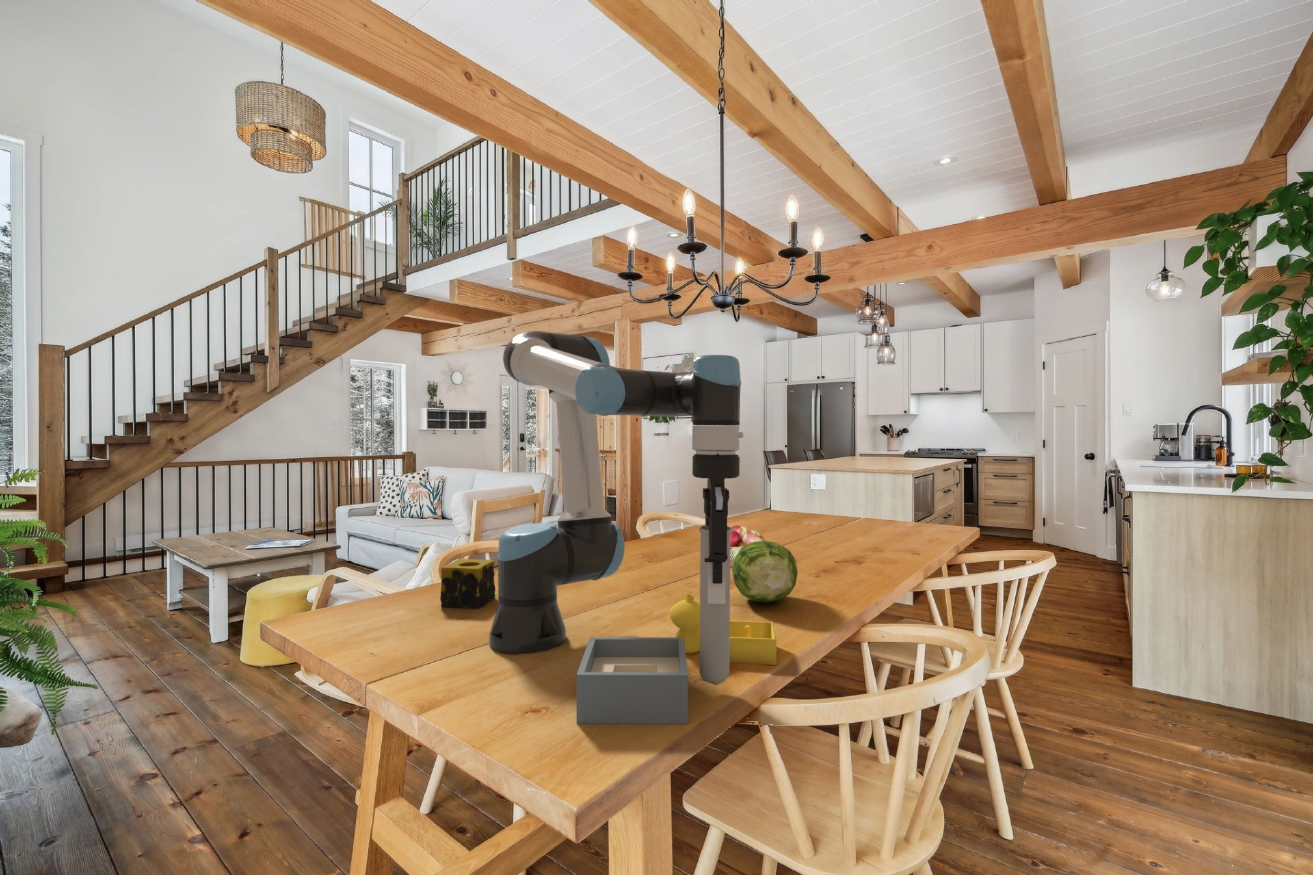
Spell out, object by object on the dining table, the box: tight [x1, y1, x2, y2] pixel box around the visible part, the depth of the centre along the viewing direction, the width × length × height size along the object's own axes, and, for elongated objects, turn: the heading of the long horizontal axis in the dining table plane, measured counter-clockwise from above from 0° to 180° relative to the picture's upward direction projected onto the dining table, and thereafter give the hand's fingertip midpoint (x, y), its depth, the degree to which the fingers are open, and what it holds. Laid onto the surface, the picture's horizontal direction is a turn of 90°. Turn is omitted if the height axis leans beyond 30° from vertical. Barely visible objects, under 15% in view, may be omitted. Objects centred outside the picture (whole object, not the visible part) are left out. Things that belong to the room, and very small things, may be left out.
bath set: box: [668, 593, 777, 666], centre depth 114 cm, size 20×10×11 cm, turn 82°
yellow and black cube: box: [439, 558, 496, 610], centre depth 148 cm, size 10×10×10 cm
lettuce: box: [732, 540, 799, 603], centre depth 146 cm, size 16×21×15 cm
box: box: [575, 636, 689, 725], centre depth 94 cm, size 16×16×7 cm
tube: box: [698, 525, 733, 686], centre depth 96 cm, size 5×5×25 cm
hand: (714, 597), depth 96 cm, fingers closed on tube, 5 cm apart
